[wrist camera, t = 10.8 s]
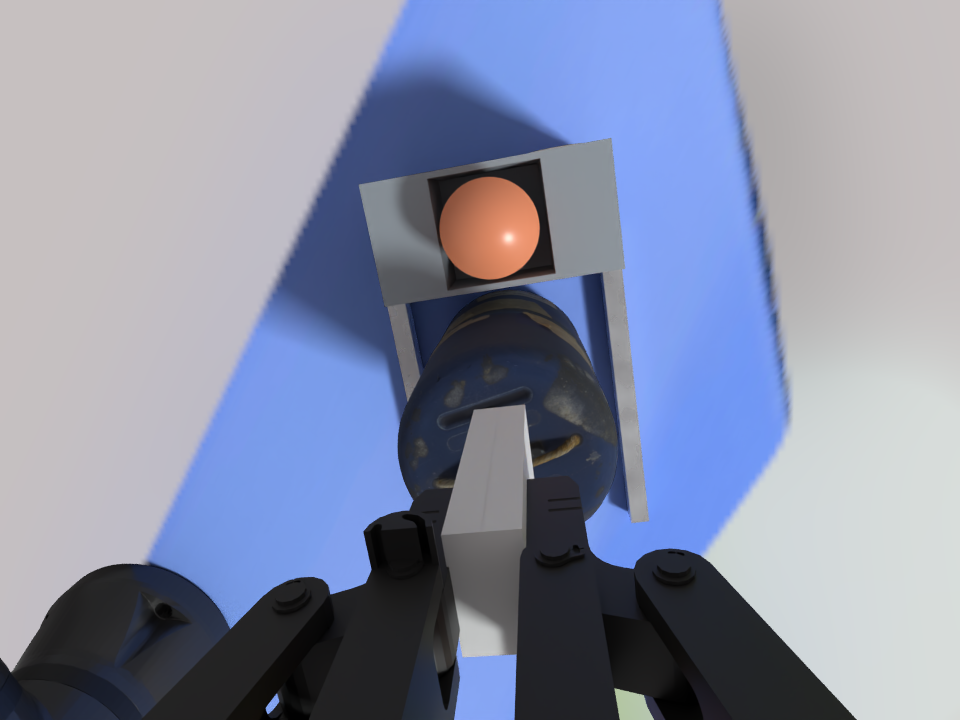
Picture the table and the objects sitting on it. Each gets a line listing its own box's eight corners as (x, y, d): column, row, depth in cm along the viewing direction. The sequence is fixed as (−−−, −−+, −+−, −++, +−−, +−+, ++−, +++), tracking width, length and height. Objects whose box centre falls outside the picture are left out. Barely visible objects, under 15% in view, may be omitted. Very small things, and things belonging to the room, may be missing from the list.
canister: (434, 293, 39) (364, 366, 22) (576, 278, 38) (620, 342, 21) (452, 425, 42) (402, 586, 24) (586, 414, 41) (633, 573, 23)
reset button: (459, 274, 31) (449, 286, 26) (444, 188, 30) (430, 186, 25) (542, 260, 30) (546, 270, 26) (530, 173, 29) (531, 168, 25)
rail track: (440, 533, 44) (437, 544, 42) (385, 270, 39) (380, 273, 37) (644, 510, 42) (648, 521, 41) (614, 232, 37) (618, 234, 36)
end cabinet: (419, 280, 39) (384, 306, 29) (399, 182, 37) (356, 176, 28) (598, 251, 38) (625, 268, 28) (586, 147, 36) (610, 128, 26)
